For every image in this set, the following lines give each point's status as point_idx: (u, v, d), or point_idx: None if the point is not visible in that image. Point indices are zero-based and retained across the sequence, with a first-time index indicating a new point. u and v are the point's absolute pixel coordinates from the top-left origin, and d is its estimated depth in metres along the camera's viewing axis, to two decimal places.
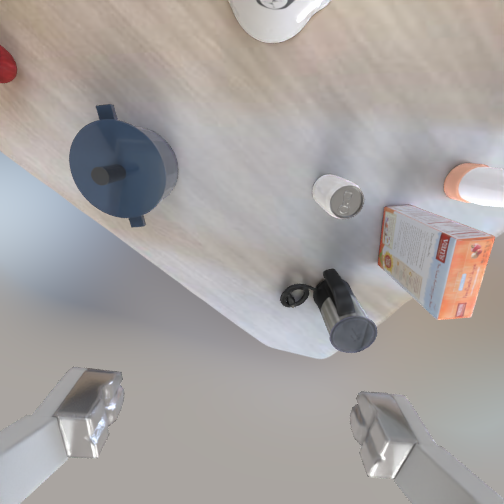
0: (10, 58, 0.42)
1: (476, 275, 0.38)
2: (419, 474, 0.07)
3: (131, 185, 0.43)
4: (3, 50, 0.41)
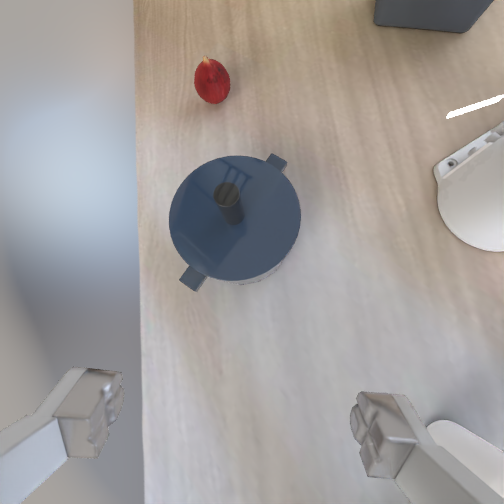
0: (227, 91, 0.42)
1: None
2: (419, 474, 0.07)
3: (233, 237, 0.30)
4: (229, 83, 0.42)
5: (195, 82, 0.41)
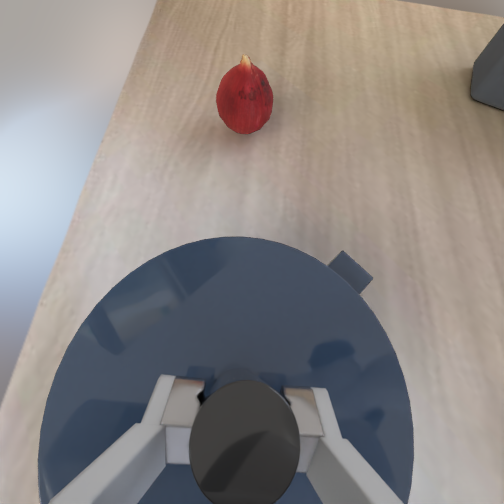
0: (265, 120, 0.26)
1: None
2: (323, 467, 0.07)
3: None
4: (271, 110, 0.26)
5: (219, 92, 0.25)
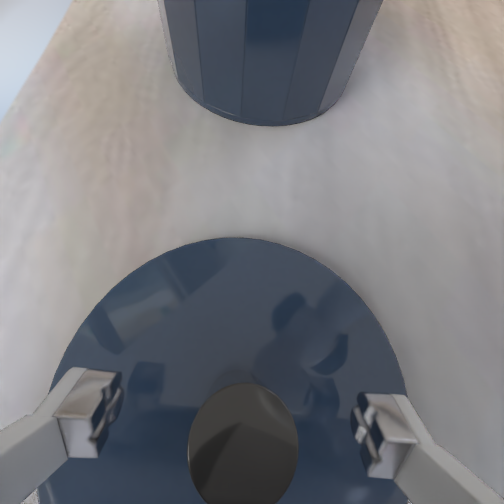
0: None
1: None
2: (419, 474, 0.07)
3: None
4: None
5: None
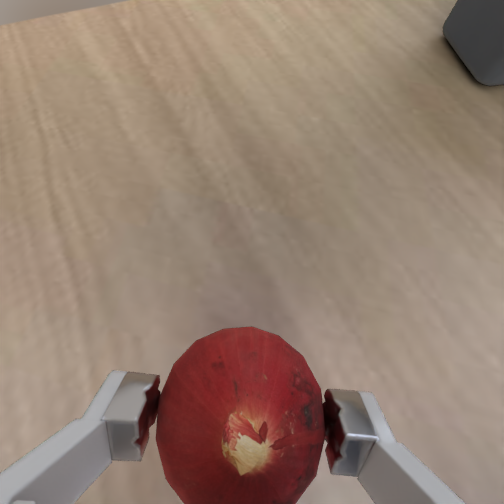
0: None
1: None
2: (379, 471, 0.07)
3: None
4: None
5: (183, 501, 0.07)
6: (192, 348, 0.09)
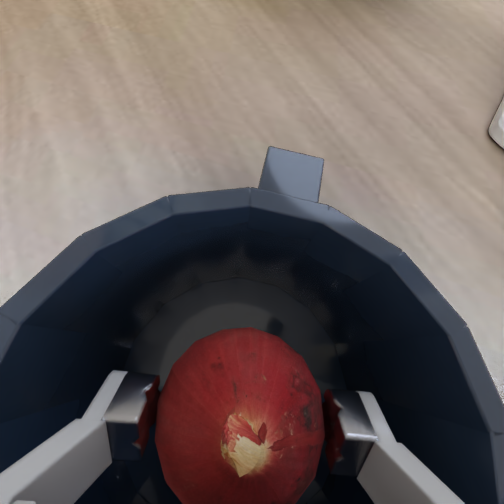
0: None
1: None
2: (378, 471, 0.07)
3: None
4: None
5: None
6: (191, 349, 0.09)
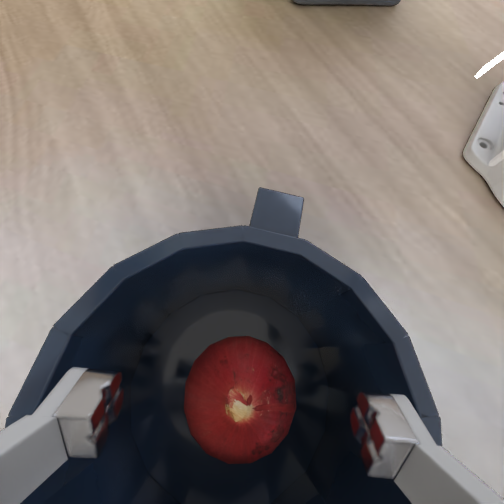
0: None
1: None
2: (419, 474, 0.07)
3: None
4: None
5: (201, 446, 0.12)
6: (207, 350, 0.13)
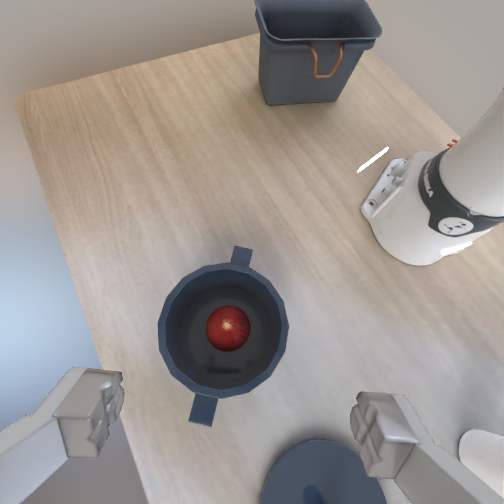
0: None
1: None
2: (419, 474, 0.07)
3: None
4: None
5: (213, 343, 0.32)
6: (215, 310, 0.33)
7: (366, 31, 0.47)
